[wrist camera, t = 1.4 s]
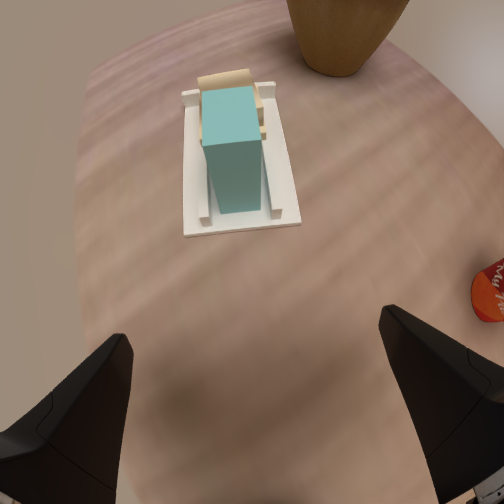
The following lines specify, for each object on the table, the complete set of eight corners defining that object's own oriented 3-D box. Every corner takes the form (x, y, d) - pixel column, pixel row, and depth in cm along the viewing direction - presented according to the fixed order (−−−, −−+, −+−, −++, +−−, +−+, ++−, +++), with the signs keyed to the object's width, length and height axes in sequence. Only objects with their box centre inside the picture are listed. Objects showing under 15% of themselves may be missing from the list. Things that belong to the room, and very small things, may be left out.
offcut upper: (263, 125, 25) (263, 106, 22) (209, 136, 24) (204, 118, 22) (248, 86, 26) (248, 68, 24) (200, 95, 26) (197, 77, 24)
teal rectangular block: (260, 210, 25) (261, 139, 16) (220, 214, 25) (202, 146, 16) (254, 162, 26) (252, 85, 17) (217, 166, 26) (201, 91, 17)
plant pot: (266, 37, 34) (267, -53, 19) (358, 40, 35) (377, -40, 19) (288, 97, 30) (300, -26, 15) (398, 99, 30) (441, 4, 15)
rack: (300, 225, 25) (304, 212, 23) (185, 237, 25) (177, 226, 22) (274, 97, 30) (274, 81, 27) (186, 107, 30) (182, 91, 27)
